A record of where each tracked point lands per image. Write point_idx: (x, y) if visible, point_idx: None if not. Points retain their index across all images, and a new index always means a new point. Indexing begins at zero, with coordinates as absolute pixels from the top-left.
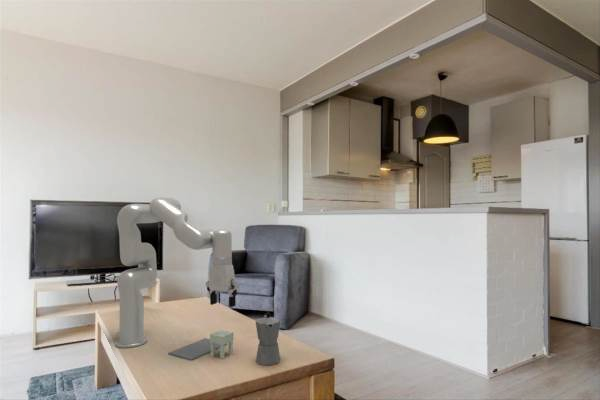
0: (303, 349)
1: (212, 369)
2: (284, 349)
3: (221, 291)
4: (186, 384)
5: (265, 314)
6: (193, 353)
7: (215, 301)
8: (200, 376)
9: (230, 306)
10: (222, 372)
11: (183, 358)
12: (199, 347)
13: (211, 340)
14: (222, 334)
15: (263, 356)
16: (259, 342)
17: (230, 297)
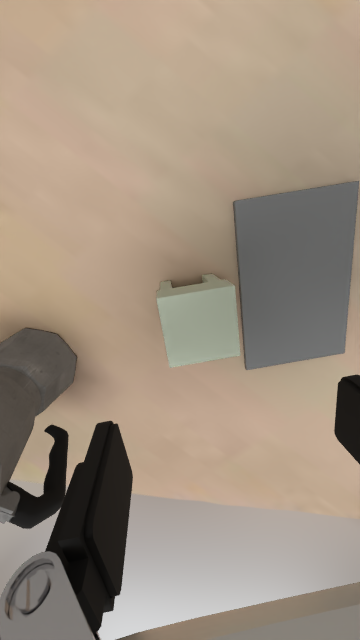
0: (43, 470)
1: (109, 201)
2: (81, 441)
3: (215, 619)
4: (57, 31)
5: (20, 523)
6: (271, 240)
7: (350, 435)
8: (86, 126)
9: (98, 430)
10: (61, 207)
11: (274, 195)
12: (297, 289)
13: (219, 282)
14: (185, 320)
15: (5, 345)
16: (14, 372)
17: (65, 538)
